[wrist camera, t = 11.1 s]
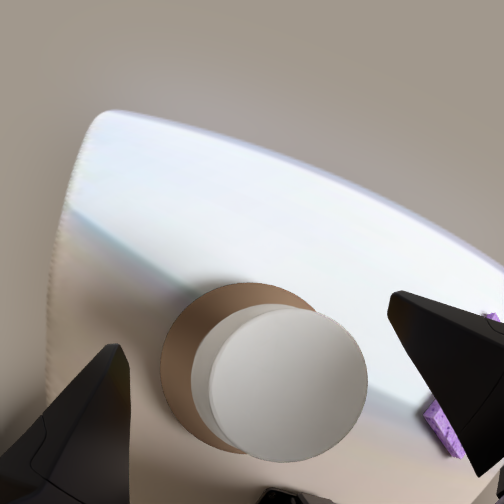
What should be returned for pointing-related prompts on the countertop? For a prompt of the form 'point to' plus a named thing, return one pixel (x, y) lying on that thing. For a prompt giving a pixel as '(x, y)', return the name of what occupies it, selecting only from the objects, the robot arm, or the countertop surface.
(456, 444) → the purple sponge
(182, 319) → the turntable platter
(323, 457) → the countertop surface
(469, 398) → the robot arm
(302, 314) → the supplement bottle
